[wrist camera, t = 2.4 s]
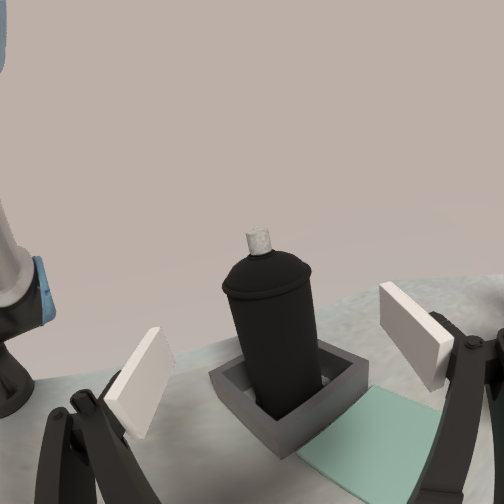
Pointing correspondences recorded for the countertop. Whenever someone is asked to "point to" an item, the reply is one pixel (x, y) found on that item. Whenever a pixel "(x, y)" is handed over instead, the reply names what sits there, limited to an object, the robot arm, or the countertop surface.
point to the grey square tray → (306, 415)
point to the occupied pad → (376, 447)
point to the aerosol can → (275, 325)
